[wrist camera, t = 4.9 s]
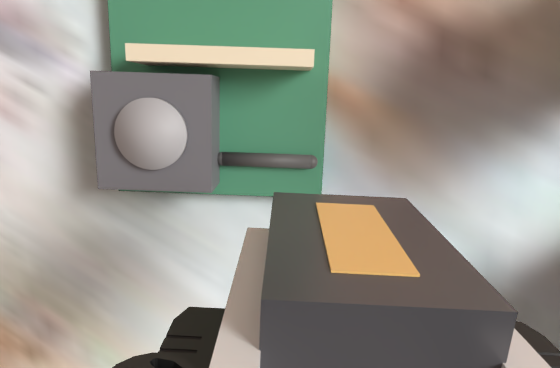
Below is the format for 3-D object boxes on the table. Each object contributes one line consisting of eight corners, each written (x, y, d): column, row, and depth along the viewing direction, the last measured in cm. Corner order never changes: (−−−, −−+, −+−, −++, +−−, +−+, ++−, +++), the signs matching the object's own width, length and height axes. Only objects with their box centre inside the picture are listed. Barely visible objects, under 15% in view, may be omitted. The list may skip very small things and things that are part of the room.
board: (319, 193, 25) (326, 215, 20) (126, 186, 25) (89, 206, 20) (337, -121, 21) (351, -182, 16) (110, -127, 21) (60, -190, 16)
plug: (390, 314, 13) (473, 506, 7) (268, 308, 13) (253, 494, 7) (406, 196, 12) (517, 309, 6) (274, 190, 12) (261, 296, 6)
